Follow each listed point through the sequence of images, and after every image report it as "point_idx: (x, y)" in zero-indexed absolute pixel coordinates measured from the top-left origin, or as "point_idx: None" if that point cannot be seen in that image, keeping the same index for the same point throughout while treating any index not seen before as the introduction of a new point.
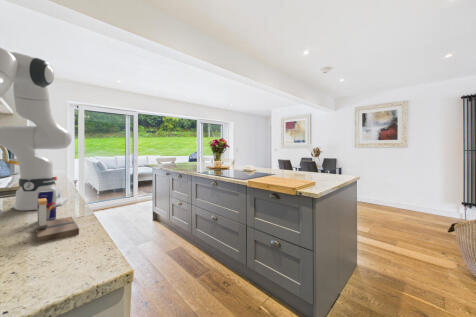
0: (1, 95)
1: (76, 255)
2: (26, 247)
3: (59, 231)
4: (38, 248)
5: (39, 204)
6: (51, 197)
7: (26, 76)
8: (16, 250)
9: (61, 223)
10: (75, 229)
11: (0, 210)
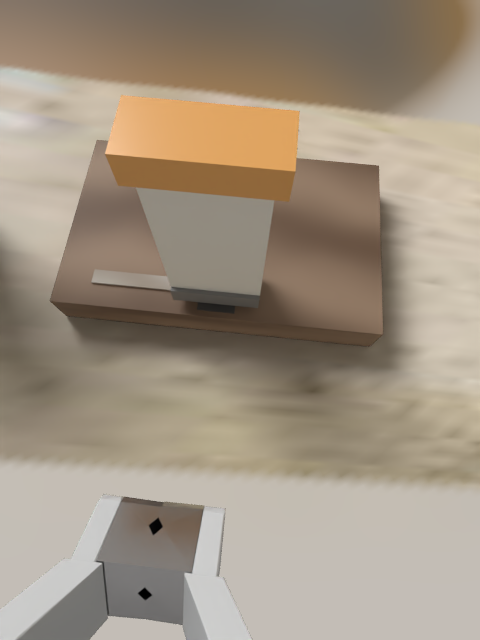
0: None
1: None
2: (393, 393)
3: (364, 239)
4: (451, 353)
5: (289, 189)
6: None
7: None
8: (405, 434)
9: None
10: (378, 181)
11: (147, 511)
